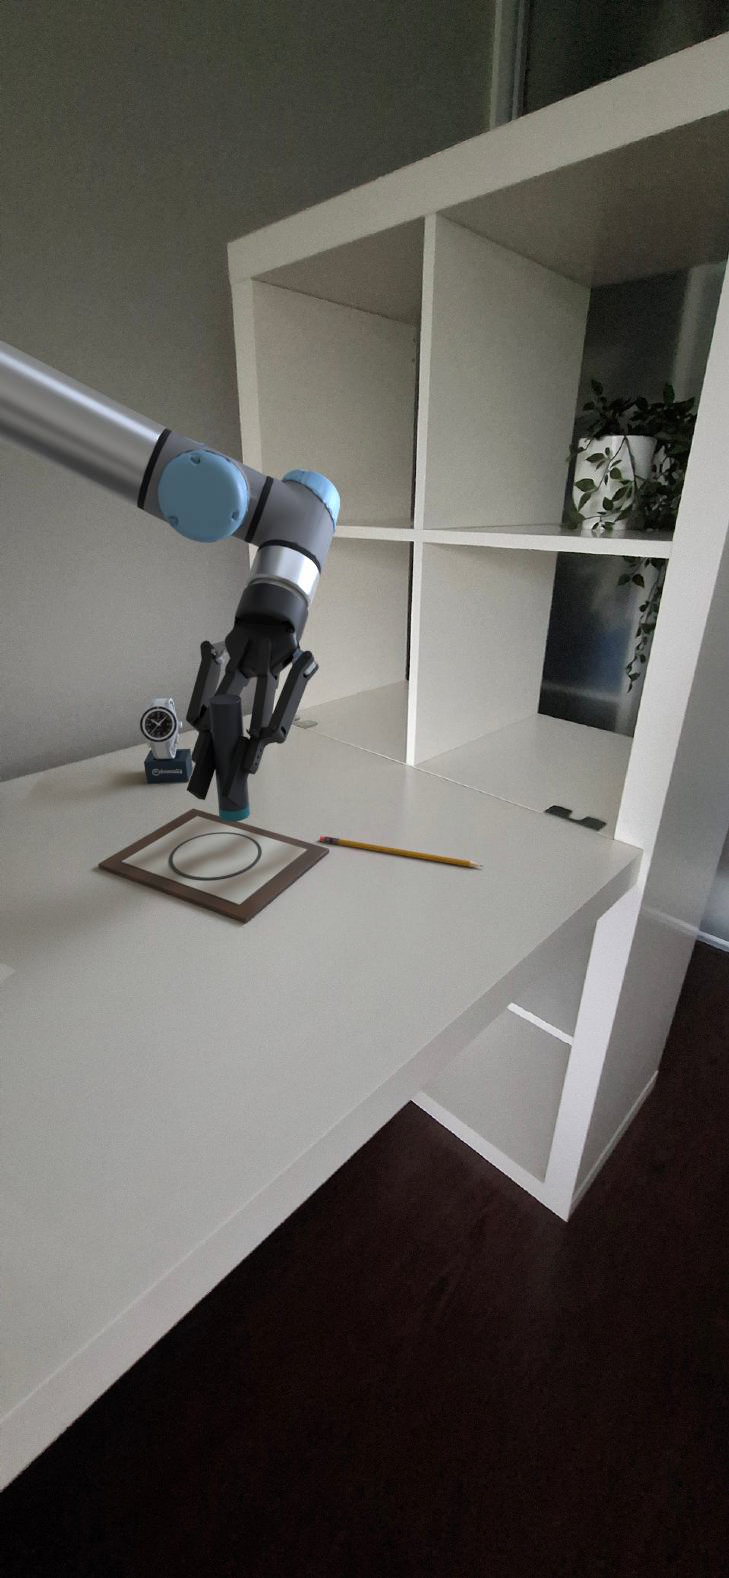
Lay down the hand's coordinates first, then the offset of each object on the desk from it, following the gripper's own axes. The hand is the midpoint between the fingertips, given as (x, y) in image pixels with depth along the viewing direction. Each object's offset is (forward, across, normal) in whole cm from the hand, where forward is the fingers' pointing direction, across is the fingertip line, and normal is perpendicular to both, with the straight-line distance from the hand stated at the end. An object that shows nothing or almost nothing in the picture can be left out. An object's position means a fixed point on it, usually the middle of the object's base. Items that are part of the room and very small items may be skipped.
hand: (213, 797), depth 69 cm
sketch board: (+5, +2, -8) cm, 10 cm away
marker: (0, 0, -6) cm, 6 cm away
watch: (-7, +19, -21) cm, 29 cm away
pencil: (-1, -17, -14) cm, 22 cm away
